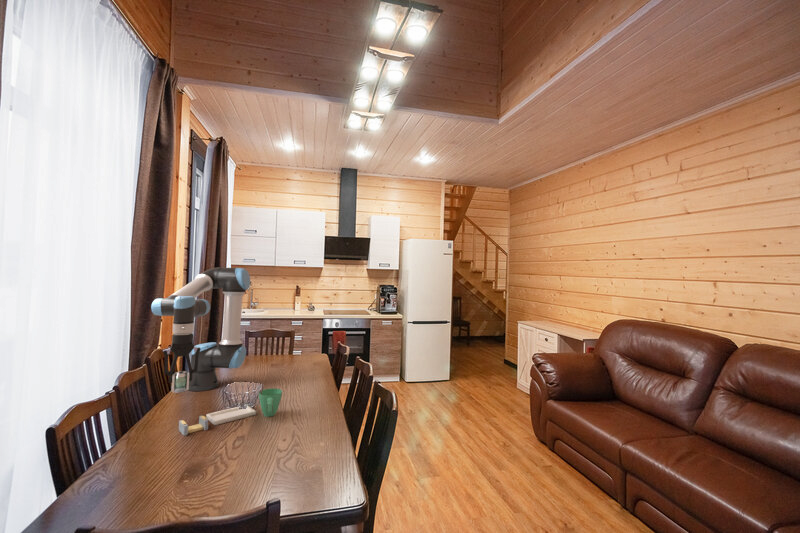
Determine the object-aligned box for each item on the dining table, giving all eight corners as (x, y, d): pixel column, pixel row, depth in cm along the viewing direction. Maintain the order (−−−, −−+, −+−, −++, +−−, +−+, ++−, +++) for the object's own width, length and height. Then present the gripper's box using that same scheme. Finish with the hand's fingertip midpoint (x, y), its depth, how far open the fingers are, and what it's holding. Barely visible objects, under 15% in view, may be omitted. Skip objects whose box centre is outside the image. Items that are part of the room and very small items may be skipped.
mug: (258, 411, 162) (259, 389, 162) (281, 409, 165) (281, 387, 165) (256, 424, 148) (257, 400, 148) (281, 422, 151) (282, 398, 151)
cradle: (178, 429, 141) (179, 419, 141) (202, 424, 147) (202, 414, 147) (184, 435, 136) (184, 425, 136) (208, 429, 142) (208, 419, 142)
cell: (173, 390, 149) (174, 370, 149) (186, 388, 152) (187, 369, 152) (173, 393, 145) (174, 373, 146) (186, 391, 148) (187, 371, 148)
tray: (206, 418, 153) (206, 414, 153) (246, 408, 165) (246, 404, 165) (214, 425, 146) (214, 421, 146) (255, 414, 158) (255, 411, 158)
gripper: (157, 336, 141) (154, 395, 141) (207, 333, 151) (204, 389, 150) (157, 333, 148) (154, 390, 147) (206, 331, 157) (203, 384, 156)
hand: (180, 389), depth 149 cm, fingers closed on cell, 4 cm apart
